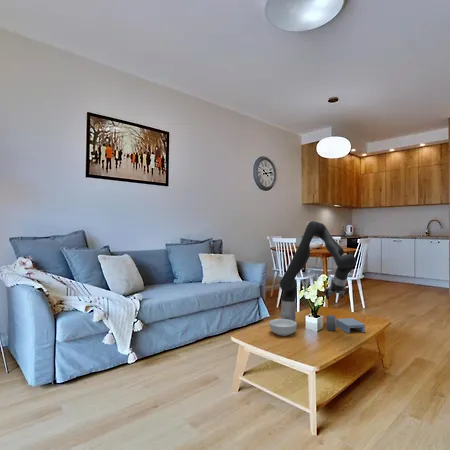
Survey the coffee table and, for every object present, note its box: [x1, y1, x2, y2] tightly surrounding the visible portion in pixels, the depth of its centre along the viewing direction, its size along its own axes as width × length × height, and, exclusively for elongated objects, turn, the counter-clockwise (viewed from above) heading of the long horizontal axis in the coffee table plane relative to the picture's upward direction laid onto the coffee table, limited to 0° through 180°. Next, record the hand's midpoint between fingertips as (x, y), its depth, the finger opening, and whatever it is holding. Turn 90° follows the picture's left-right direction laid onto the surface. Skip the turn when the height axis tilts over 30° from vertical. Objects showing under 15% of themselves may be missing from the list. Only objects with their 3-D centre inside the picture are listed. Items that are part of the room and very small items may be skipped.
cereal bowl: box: [269, 318, 298, 337], centre depth 193 cm, size 17×17×7 cm
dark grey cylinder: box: [325, 314, 336, 332], centre depth 199 cm, size 6×6×9 cm
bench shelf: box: [335, 317, 366, 334], centre depth 200 cm, size 12×14×5 cm
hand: (334, 298), depth 191 cm, fingers open, 8 cm apart
